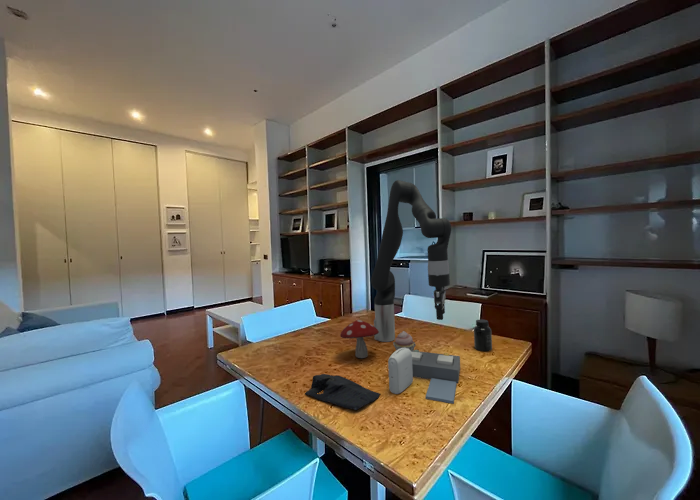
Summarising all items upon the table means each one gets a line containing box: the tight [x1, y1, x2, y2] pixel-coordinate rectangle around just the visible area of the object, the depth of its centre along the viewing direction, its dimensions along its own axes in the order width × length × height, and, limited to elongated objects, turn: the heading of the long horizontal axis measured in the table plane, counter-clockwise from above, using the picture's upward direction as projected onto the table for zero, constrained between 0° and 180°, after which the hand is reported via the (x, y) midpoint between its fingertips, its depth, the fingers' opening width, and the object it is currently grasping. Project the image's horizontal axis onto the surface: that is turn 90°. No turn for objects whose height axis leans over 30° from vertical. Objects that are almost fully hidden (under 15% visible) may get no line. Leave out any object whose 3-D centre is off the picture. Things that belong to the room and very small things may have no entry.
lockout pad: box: [425, 378, 457, 404], centre depth 92 cm, size 8×12×1 cm, turn 156°
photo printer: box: [387, 348, 414, 395], centre depth 95 cm, size 10×4×12 cm, turn 140°
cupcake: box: [392, 330, 417, 351], centre depth 121 cm, size 9×9×10 cm
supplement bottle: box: [473, 319, 493, 352], centre depth 124 cm, size 7×7×12 cm
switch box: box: [410, 349, 461, 385], centre depth 105 cm, size 20×12×5 cm, turn 66°
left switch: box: [411, 351, 422, 361], centre depth 108 cm, size 5×5×2 cm
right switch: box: [437, 355, 453, 365], centre depth 103 cm, size 5×5×2 cm
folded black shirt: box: [304, 373, 381, 411], centre depth 93 cm, size 15×22×5 cm
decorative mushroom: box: [339, 319, 379, 359], centre depth 122 cm, size 16×16×15 cm
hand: (440, 316), depth 108 cm, fingers open, 8 cm apart
